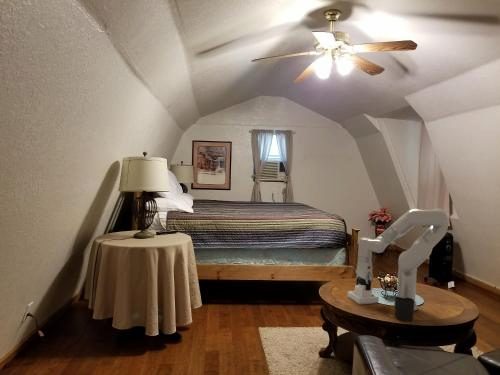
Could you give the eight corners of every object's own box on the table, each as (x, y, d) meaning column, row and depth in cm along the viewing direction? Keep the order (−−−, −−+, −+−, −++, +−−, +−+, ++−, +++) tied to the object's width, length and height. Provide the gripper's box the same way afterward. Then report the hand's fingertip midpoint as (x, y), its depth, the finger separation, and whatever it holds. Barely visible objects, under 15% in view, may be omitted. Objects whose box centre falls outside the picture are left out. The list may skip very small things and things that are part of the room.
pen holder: (406, 323, 194) (407, 303, 193) (390, 317, 201) (391, 298, 201) (417, 319, 199) (418, 300, 199) (400, 313, 207) (401, 295, 206)
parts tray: (378, 302, 222) (378, 297, 222) (358, 304, 219) (359, 298, 219) (366, 295, 234) (366, 290, 234) (347, 297, 231) (347, 291, 231)
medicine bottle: (371, 300, 224) (372, 279, 224) (361, 301, 222) (362, 280, 221) (364, 296, 231) (365, 276, 230) (354, 297, 229) (355, 277, 228)
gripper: (379, 262, 218) (377, 291, 219) (362, 255, 234) (360, 282, 235) (367, 262, 216) (366, 292, 217) (351, 255, 232) (350, 283, 233)
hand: (363, 287), depth 226 cm, fingers open, 9 cm apart
